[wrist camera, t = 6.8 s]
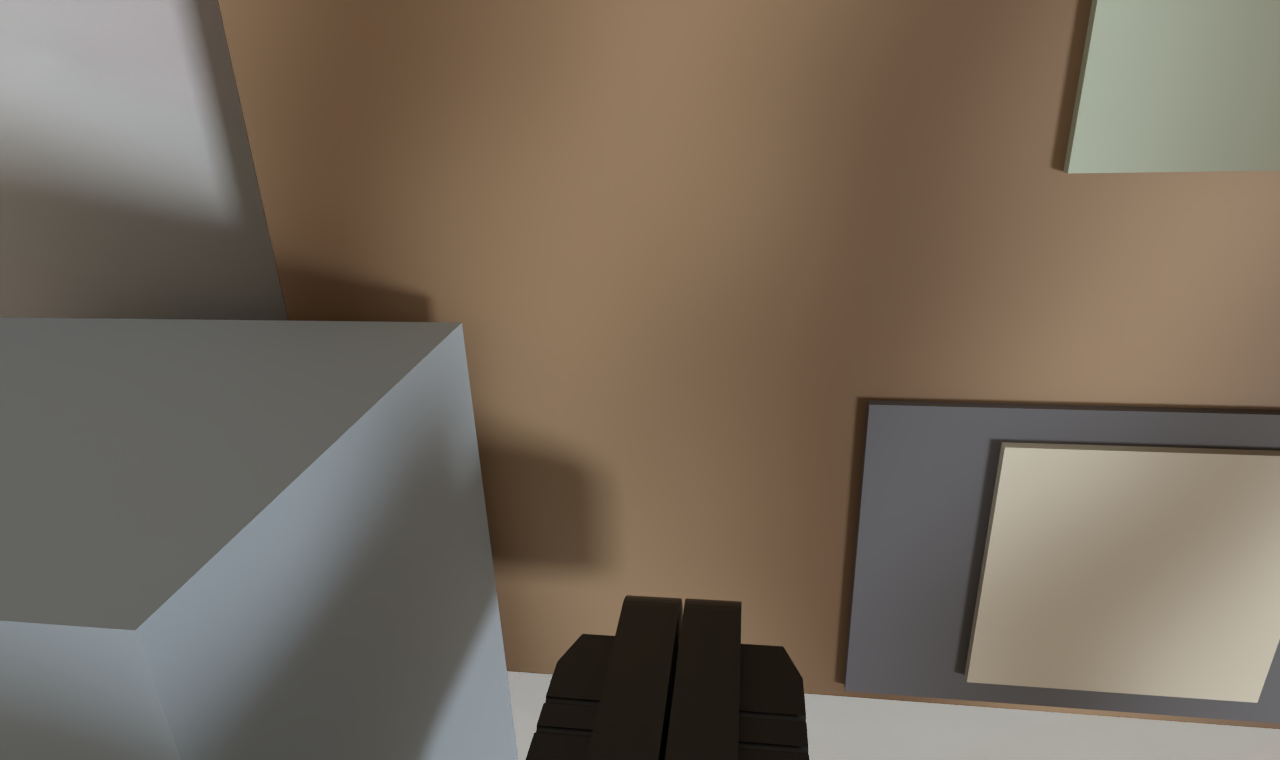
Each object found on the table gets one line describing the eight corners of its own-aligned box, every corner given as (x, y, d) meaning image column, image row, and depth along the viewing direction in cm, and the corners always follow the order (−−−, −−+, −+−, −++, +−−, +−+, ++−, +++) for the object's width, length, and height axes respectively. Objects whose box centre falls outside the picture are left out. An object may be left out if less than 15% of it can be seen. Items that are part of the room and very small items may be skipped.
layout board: (2128, -683, 7) (2483, -871, 5) (1467, 686, 12) (1554, 766, 11) (188, -425, 9) (87, -507, 8) (390, 615, 15) (354, 672, 14)
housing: (462, 323, 10) (-7, 761, 4) (518, 765, 14) (306, 1409, 7) (-62, 316, 12) (-1076, 653, 5) (101, 726, 15) (-405, 1255, 8)
